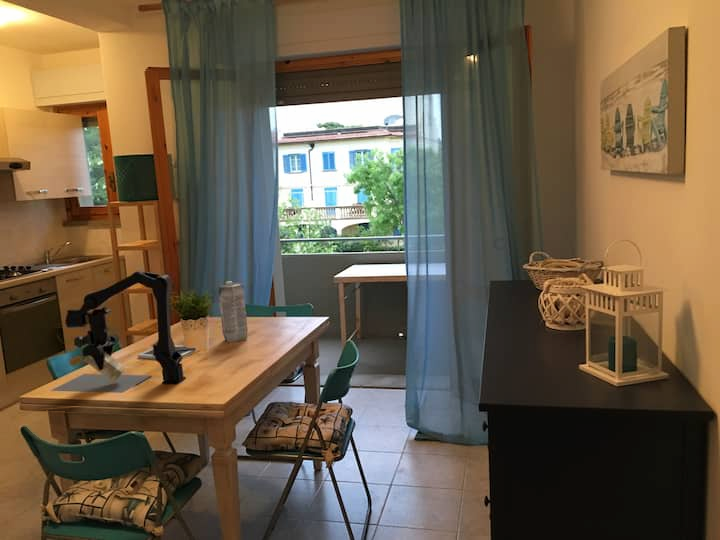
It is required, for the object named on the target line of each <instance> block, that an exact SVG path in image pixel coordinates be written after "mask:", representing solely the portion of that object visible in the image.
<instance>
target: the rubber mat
mask: <svg viewBox="0 0 720 540" xmlns="http://www.w3.org/2000/svg"><path fill="white" fill-rule="evenodd" d="M152 377H153V376H152V374H151V375H150V374H146V375H145V374H121V375H120V376H119V377H118V378H117V379H116V380H115V381H114V382H112V381H111V380H109V379H108V378H107V377H105V376H104V375H103V374H101V373H99V374H98V373H83V374H81V375H78V376H77V377H75V378H73V379H71V380H69V381H67V382H64V383H62V384H61V385H58V386H57V387H55V388H53V389H51V390H50V391H51V392H52V391H53V392H54V391H55V392H56V391H57V392H85V393H87V392H88V393H91V392H92V393H118V394H119V393H121V394H122V393H125V392H126V391H128V390H129V389H131V388H132V387H133V388H135V387H137V386H139V385H141V384H142V383H143V382H146V381H147V380H149V379H151V378H152ZM133 388H132V389H133Z"/></svg>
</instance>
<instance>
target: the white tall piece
mask: <svg viewBox="0 0 720 540" xmlns="http://www.w3.org/2000/svg"><path fill="white" fill-rule="evenodd" d="M83 361H84V362H85V363H86V364H88V365H89V366H90V367H92V368H93V369H95V370H96V371H97V372H99V374H103V375H104V376H105V377H107V378H108V379H109V380H111V381H112V382H114V381H115V380H116V379H117V378H118V377H119V376H120V375H123V373H124V372H125V370H126V369H127V367H126V366H124V365H123V364H122V363H121V362H119V361H118V360H117V359H116V358H114V357H113V356H112V355H111V356H110V355H109V354H107V353H106V355H105V360H104V366H103V369H102V370H99V368H98V366H97V364H96V362H95V360H94V359H93V357H91V356H85V358H84V359H83Z"/></svg>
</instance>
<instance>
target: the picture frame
mask: <svg viewBox="0 0 720 540" xmlns="http://www.w3.org/2000/svg"><path fill="white" fill-rule="evenodd" d="M174 346H175V350H176V351H177V352H178V353H179V354H181V355H182V356H183V357H185V356H187V357H189V356H191V355H193V354H195V353H194V352H195V351H196V349H195V348H187V347H185V346H186V345H175V344H174ZM192 353H193V354H192ZM153 354H154V350H153V348H151V349H149V350H146V351H143V352H141V353H138V354H137V356H136V357H137V359H142V358H150V359H149V360H154V359H155V356H153ZM190 354H191V355H190ZM188 355H189V356H188ZM183 357H182V358H183ZM185 358H186V357H185ZM183 359H184V358H183Z"/></svg>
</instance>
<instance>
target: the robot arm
mask: <svg viewBox="0 0 720 540" xmlns="http://www.w3.org/2000/svg"><path fill="white" fill-rule="evenodd" d="M136 284H140V285H141V286H144V287H147V288H148V289H152V294H153V297H154V299H155V301H156V315H157V334H158V335H157V336H158V339H157V341H156V342H155V343H154V344H152V349H153V350H154V354H153V356H155V359H156V360H155V361H156V362H157V363H158V364H159V365H160V367H161V375H162V382H161V384H163V385H164V384H165V385H166V384H169V385H177V384H180V383H181V382H182V381H183V380H184V381H185V380H186V379H187V377H186V376H184V371H183V363H181V362H182V360H183V359H182V357H183V356H182V355H181V354H179V353H178V352H177V351H176V350H175V346H174V345H175V343H174V341H173V338H172V335H171V334H172V333H171V329H172V328H171V311H170V310H171V309H170V298H171V295H172V290H173V278H172V277H171V275H168V274H159V273H153V272H147V271H144V270H137V271H135V272H133V273H131V275H128V276H127V277H125V278H123V279H121V280H119V281H118V282H115V283H114V284H112V285H110V286H107V287H105V288H101V289H97V290H95V291H93V292H91V293H88V294H86V295H85V296H84V298H83V304H82V306H81V307H80V308H75V309H74V308H71V309H68V310H66V315H65V316H66V317H65V325H66V327H67V329H74V328H85V327H87V326H88V325H89V329H88V330H87V334H85V335H83V336H81V335H78V336H77V337H74V338H73V339H74V341H73V343H74V344H73V345H74V346H75V347H77V348H78V349H80V348H82V347H83V349H82V350H81V354H82V356H83V357H87V356H91V357H93V359H94V360H95V362H96V364H97V366H98V368H99V370H102V369H103V366H104V360H105V355H106V353H107V354H109V355H110V356H111V357H112V355H113V352H114V350H115V346H116V343H118V342H120V341H119V335H117V334H116V333H112V334H110V333H109V330H110V326H108V324H107V323H108V322H107V318H106V317H107V316H106V315H107V314H109V313H111V312H112V310H111V309H110V308H108V307H107V306H103V305H104V304H106V303H107V302H108V301H110V299H112V298H113V297H114V296H116V295H118V294H120V293H122V292H123V291H126V289H129V288H131V287H133V286H135V285H136ZM101 306H103V307H102V308H100V307H101ZM91 310H92V311H91ZM112 342H113V343H112Z"/></svg>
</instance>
